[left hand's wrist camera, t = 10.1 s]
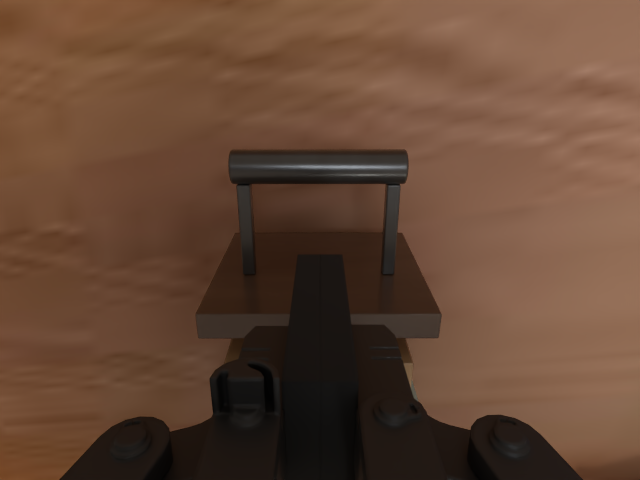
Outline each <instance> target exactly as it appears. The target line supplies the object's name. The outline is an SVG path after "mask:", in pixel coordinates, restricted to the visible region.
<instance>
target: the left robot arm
mask: <svg viewBox="0 0 640 480" xmlns="http://www.w3.org/2000/svg"><path fill="white" fill-rule="evenodd" d="M210 387H211V397H212V407H213V416H212V417H211V418H210V419H208V420H206V421H204V422H203V423H201V424H198V425H195V426H192V427H188V428H184V429H180V430H176V431H172V432H169V428H168V427H167V425H166V424H165V423H164V422H163V421H162V420H159V419H157V418H154V417H136V418H132V419H128V420H125V421H122V422H120V423H118V424H116V425H114V426H112V427H111V428H110V429H108V430H107V431H106V432H105V433H103V434H102V435H101V436H100V437H99V438H98V439H97V440H96V441H95V442H94V443H93V444H92V445H91V447H90V448H89V449H88V450H87V451H86V452H85V453H84V454H83V455H82V456H81V457H80V458H79V459H78V460H77V462H76V463H75V464H74V465H73V466H72V467H71V468H70V469H69V470H68V471H67V472H66V473H65V474H64V475H63V476H62V478H61V479H60V480H583V479H582V478H581V477H580V476H579V475H578V474H577V473H576V472H575V471H574V470H573V469H572V468H571V466H570V465H569V464H568V463H567V462H566V461H565V460H564V459H563V458H562V457H561V456H560V455H559V454H558V453H557V452H556V451H555V449H554V448H553V447H552V446H551V445H550V444H549V443H548V442H547V441H546V440H545V439H544V438H543V437H542V436H541V435H540V434H539V433H538V432H537V431H536V430H534V429H533V428H532V427H531V426H529V425H528V424H526V423H524V422H522V421H520V420H518V419H515V418H512V417H508V416H503V415H487V416H484V417H482V418H479V419H477V420H476V421H475V423H474V424H473V425H472V426H471V430H467V429H463V428H459V427H455V426H451V425H448V424H445V423H442V422H439V421H437V420H435V419H433V418H431V417H430V416H428V415H427V413H426V411H425V409H424V408H423V406H422V404H421V403H419V402H418V401H417V400H416V399H414V397H413V394H412V390H411V387H410V384H409V380H408V377H407V373H406V370H405V367H404V363H403V360H402V357H401V353H400V350H399V346H398V343H397V340H396V336H395V334H394V333H393V332H392V331H391V330H389V329H388V328H387V327H386V326H385V325H351V317H350V310H349V302H348V294H347V286H346V279H345V271H344V263H343V255H342V254H298V255H297V263H296V271H295V279H294V286H293V294H292V302H291V310H290V317H289V325H288V326H255V327H254V328H253V329H252V330H251V331H250V332H249V333H248V334H247V335H246V336H245V338H244V341H243V345H242V348H241V352H240V355H239V358H238V359H236V360H233V361H231V362H228V363H225V364H223V365H222V366H221V367H219V368H218V369H216V370H215V371H214V373H213V374H212V376H211V377H210Z"/></svg>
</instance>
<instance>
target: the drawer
mask: <svg viewBox="0 0 640 480" xmlns="http://www.w3.org/2000/svg"><path fill="white" fill-rule="evenodd" d="M228 166H229V176H230V180H231V182H232V183H233V184H237V199H238V213H239V226H240V233H235V235H234V237H233V239H232V241H231V243H230V245H229V247H228V249H227V251H226V253H225V255H224V257H223V259H222V261H221V264H220V266H219V268H218V270H217V272H216V274H215V276H214V278H213V280H212V282H211V284H210V286H209V288H208V290H207V292H206V294H205V296H204V298H203V300H202V302H201V304H200V306H199V308H198V310H197V312H196V323H197V331H198V338H232V340H231V343H230V346H229V350H228V353H227V356H226V359H225V362H224V364H225V363H228V362H231V361H233V360H236V359H238V358H239V355H240V352H241V348H242V345H243V341H244V338H245V336H246V335H247V334H248V333H249V332H250V331H251V330H252V329H253V328H254V327H255V326H288V325H289V317H290V310H291V302H292V294H293V286H294V279H295V271H296V263H297V255H298V254H342V255H343V263H344V271H345V279H346V286H347V294H348V302H349V310H350V317H351V325H385V326H386V327H387V328H388V329H389V330H391V331H392V332H393V333H394V334H395V336H396V340H397V343H398V346H399V350H400V353H401V357H402V360H403V363H404V367H405V370H406V373H407V377H408V380H409V384H410V387H411V382H412V372H413V361H412V358H411V355H410V351H409V348H408V345H407V342H406V339H405V338H439V331H440V323H441V315H442V314H441V312H440V310H439V308H438V306H437V304H436V302H435V300H434V298H433V296H432V294H431V291H430V289H429V287H428V285H427V283H426V281H425V279H424V277H423V275H422V273H421V271H420V269H419V267H418V265H417V263H416V261H415V258H414V256H413V254H412V252H411V250H410V248H409V246H408V244H407V242H406V240H405V238H404V236H403V234H402V233H397V228H398V214H399V200H400V184H404V183H405V182H406V180H407V176H408V154H407V151H406V150H231V151H230V154H229V162H228ZM252 184H386V186H385V203H384V220H383V233H254V217H253V201H252Z"/></svg>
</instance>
